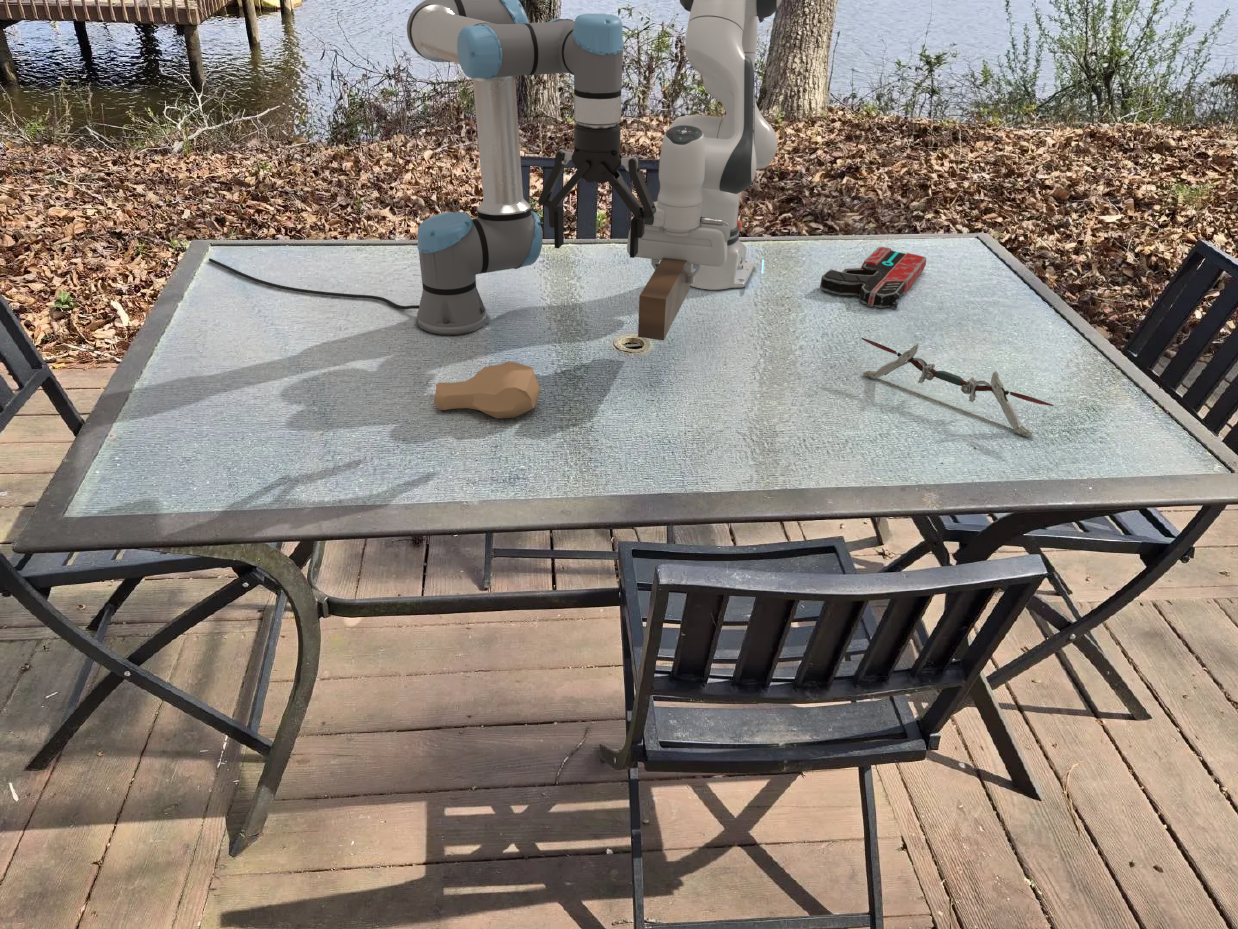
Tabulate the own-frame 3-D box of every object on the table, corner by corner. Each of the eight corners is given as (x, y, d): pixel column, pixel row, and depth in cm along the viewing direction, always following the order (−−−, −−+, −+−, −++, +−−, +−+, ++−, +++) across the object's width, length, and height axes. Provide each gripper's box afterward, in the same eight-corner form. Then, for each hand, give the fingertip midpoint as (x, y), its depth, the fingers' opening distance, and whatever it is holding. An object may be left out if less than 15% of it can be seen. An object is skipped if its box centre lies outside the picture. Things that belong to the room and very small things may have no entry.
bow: (1043, 439, 161) (1060, 391, 155) (1040, 443, 160) (1056, 395, 154) (857, 369, 182) (866, 325, 177) (852, 372, 181) (861, 327, 175)
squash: (542, 425, 161) (533, 386, 155) (435, 433, 163) (423, 395, 156) (546, 387, 169) (538, 350, 163) (444, 396, 170) (432, 359, 164)
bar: (663, 340, 165) (666, 298, 160) (637, 337, 166) (639, 295, 161) (689, 288, 185) (692, 250, 180) (666, 285, 186) (668, 247, 181)
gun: (818, 277, 212) (896, 296, 205) (859, 239, 234) (931, 255, 227) (815, 294, 215) (892, 314, 207) (855, 255, 237) (927, 271, 229)
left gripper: (678, 124, 141) (670, 251, 153) (532, 111, 146) (536, 235, 158) (667, 134, 135) (660, 266, 147) (516, 120, 140) (521, 248, 152)
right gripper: (733, 215, 173) (727, 281, 181) (633, 204, 177) (631, 269, 185) (728, 225, 168) (722, 292, 176) (625, 214, 172) (624, 280, 180)
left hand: (596, 250), depth 153 cm, fingers open, 13 cm apart
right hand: (675, 280), depth 181 cm, fingers closed on bar, 5 cm apart
